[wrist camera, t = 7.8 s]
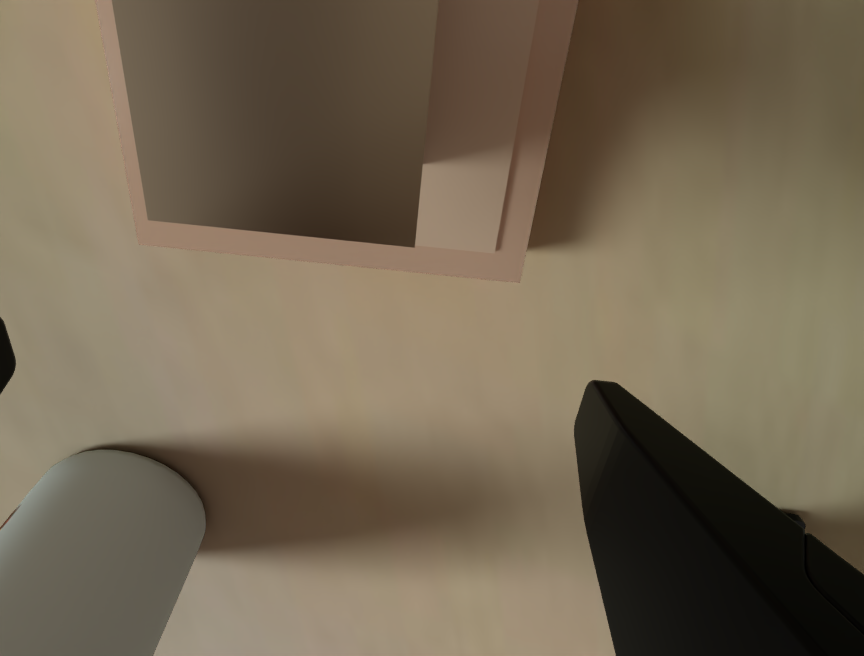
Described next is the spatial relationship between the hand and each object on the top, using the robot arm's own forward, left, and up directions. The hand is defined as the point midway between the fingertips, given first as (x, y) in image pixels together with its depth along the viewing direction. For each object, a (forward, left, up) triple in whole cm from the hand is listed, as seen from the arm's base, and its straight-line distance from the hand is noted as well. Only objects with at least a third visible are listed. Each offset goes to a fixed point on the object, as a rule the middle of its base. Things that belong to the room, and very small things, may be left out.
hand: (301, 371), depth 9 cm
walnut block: (+1, -4, -9) cm, 10 cm away
